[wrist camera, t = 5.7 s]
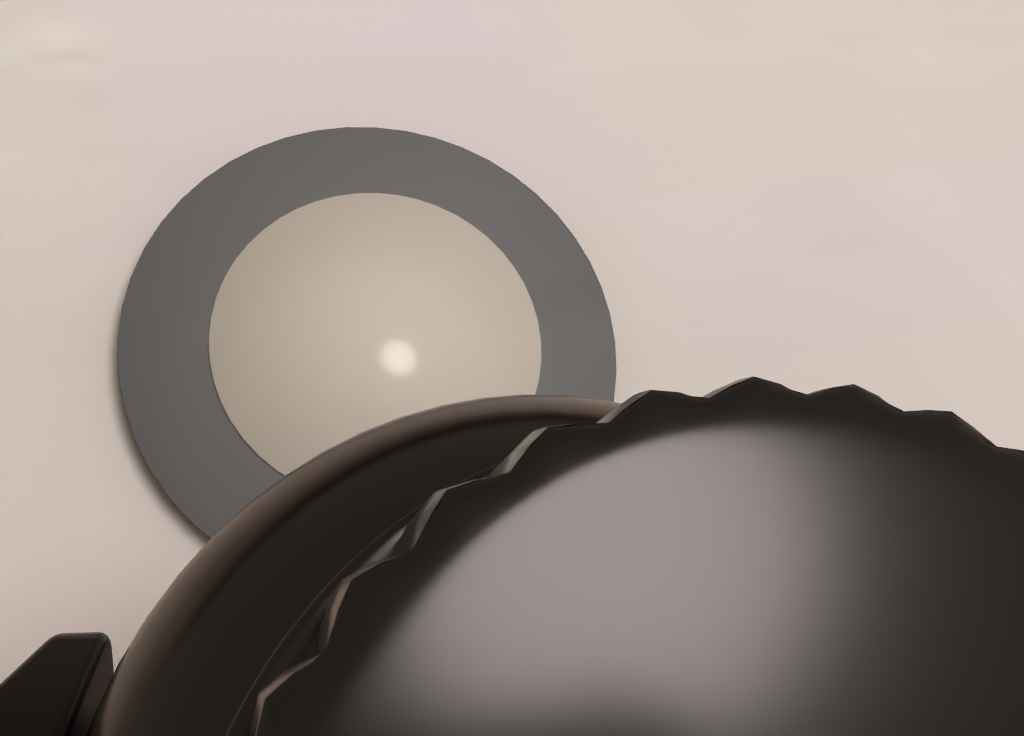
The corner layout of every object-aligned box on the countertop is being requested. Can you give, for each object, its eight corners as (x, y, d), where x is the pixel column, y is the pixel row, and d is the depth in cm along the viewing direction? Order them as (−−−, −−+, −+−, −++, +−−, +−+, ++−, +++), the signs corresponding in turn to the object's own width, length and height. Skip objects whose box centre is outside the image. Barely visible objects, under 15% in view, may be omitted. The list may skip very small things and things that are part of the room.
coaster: (657, 546, 23) (667, 542, 22) (145, 643, 20) (139, 641, 19) (555, 128, 26) (561, 113, 26) (103, 153, 23) (98, 138, 22)
